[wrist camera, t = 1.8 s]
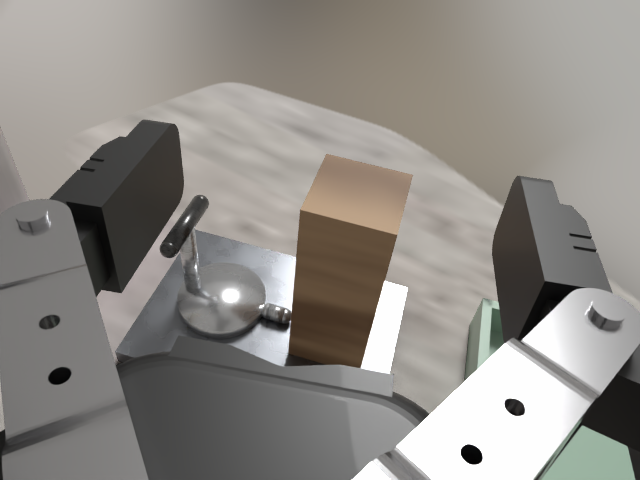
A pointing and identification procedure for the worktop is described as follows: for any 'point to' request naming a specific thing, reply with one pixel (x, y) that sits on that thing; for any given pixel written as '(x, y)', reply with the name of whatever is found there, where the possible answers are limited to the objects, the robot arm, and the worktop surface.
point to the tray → (587, 445)
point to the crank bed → (238, 300)
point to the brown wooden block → (343, 258)
